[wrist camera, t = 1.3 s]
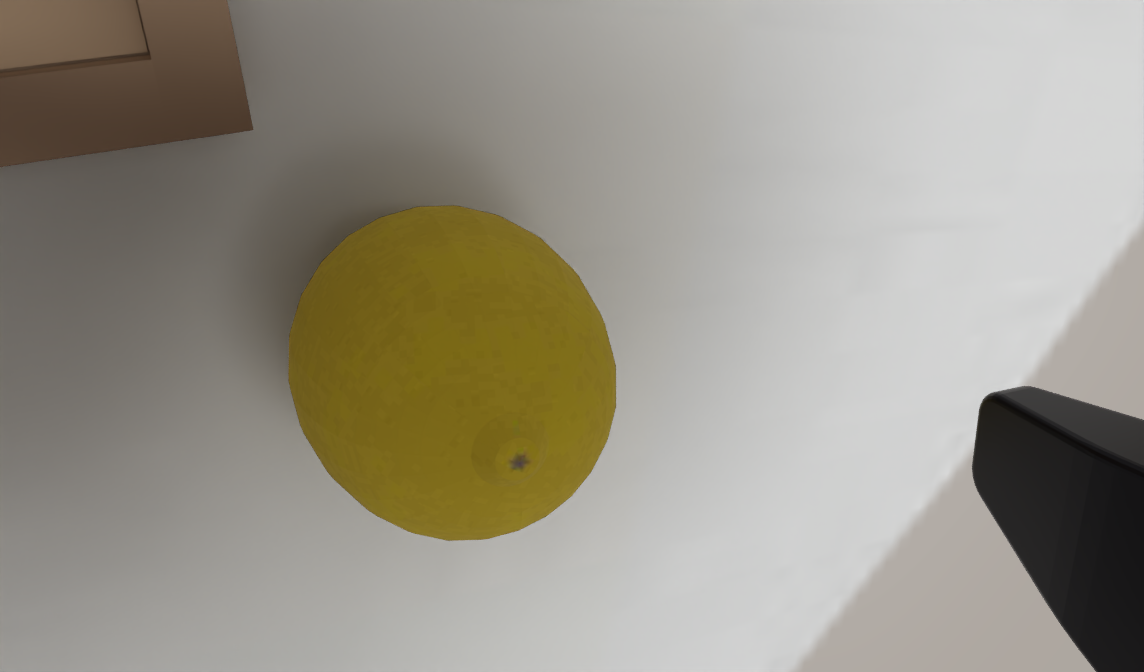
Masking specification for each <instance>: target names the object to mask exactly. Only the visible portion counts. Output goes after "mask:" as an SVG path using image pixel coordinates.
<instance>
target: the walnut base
mask: <svg viewBox="0 0 1144 672" xmlns="http://www.w3.org/2000/svg"><path fill="white" fill-rule="evenodd" d="M251 130H253V126H252V121H251V116H250V111H249V106H248V101H247V96H246V91H245V86H244V81H243V76H242V72H241V67H240V62H239V57H238V52H237V47H236V42H235V37H234V32H233V27H232V23H231V18H230V13H229V8H228V3H227V0H0V167H3V166H10V165H17V164H24V163H31V162H38V161H44V160H51V159H58V158H65V157H72V156H79V155H86V154H93V153H99V152H106V151H113V150H120V149H127V148H134V147H141V146H148V145H155V144H161V143H168V142H175V141H182V140H189V139H196V138H203V137H210V136H216V135H223V134H230V133H237V132H244V131H251Z"/></svg>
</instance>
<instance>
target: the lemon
mask: <svg viewBox="0 0 1144 672" xmlns="http://www.w3.org/2000/svg"><path fill="white" fill-rule="evenodd" d="M288 374H289V385H290V389H291V393H292V397H293V400H294V404H295V408H296V411H297V415H298V419H299V422H300V426H301V428H302V430H303V432H304V434H305V436H306V438H307V439H308V441H309V443H310V444H311V446H312V448H313V449H314V451H315V453H316V454H317V456H318V458H319V459H320V461H321V463H322V464H323V466H324V467H325V469H326V470H327V472H328V473H329V474H330V475H331V476H332V478H333V479H334V480H335V481H336V482H337V483H338V484H340V485H341V486H342V487H343V488H344V489H345V490H346V491H347V492H348V493H349V494H351V495H352V496H353V497H354V498H355V499H356V500H357V501H358V502H359V503H360V504H361V505H363V506H364V507H365V508H366V509H367V510H369V511H370V512H372V513H373V514H375V515H376V516H378V517H380V518H382V519H384V520H386V521H388V522H390V523H392V524H394V525H396V526H398V527H400V528H403V529H405V530H407V531H409V532H412V533H415V534H419V535H424V536H429V537H434V538H438V539H443V540H448V541H452V540H481V539H489V538H493V537H496V536H500V535H504V534H507V533H511V532H515V531H518V530H520V529H522V528H524V527H526V526H528V525H530V524H532V523H534V522H536V521H538V520H540V519H542V518H544V517H546V516H547V515H549V514H550V513H551V512H552V511H554V510H555V509H556V508H557V507H559V506H560V505H561V504H562V503H564V502H565V501H566V500H567V499H569V498H570V497H571V496H572V495H573V494H574V492H575V491H576V490H577V489H578V487H579V486H580V485H581V484H582V483H583V481H584V480H585V479H586V478H587V476H588V475H589V474H590V473H591V471H592V469H593V467H594V465H595V463H596V462H597V460H598V458H599V456H600V454H601V452H602V450H603V448H604V446H605V444H606V441H607V439H608V436H609V432H610V428H611V424H612V420H613V416H614V412H615V408H616V365H615V361H614V357H613V353H612V349H611V346H610V342H609V338H608V334H607V331H606V327H605V323H604V321H603V318H602V316H601V314H600V312H599V310H598V309H597V307H596V305H595V303H594V302H593V300H592V298H591V297H590V295H589V293H588V291H587V290H586V288H585V286H584V285H583V283H582V281H581V279H580V278H579V276H578V275H577V274H576V272H575V271H574V270H573V269H572V268H571V267H570V266H569V265H568V264H567V263H566V262H565V261H564V260H563V259H562V258H561V257H560V256H559V255H558V254H557V253H556V252H555V251H553V250H552V249H551V248H550V247H549V246H548V245H547V244H546V243H545V242H544V241H543V240H542V239H541V238H539V237H538V236H536V235H534V234H533V233H531V232H529V231H527V230H525V229H523V228H521V227H520V226H518V225H516V224H514V223H512V222H510V221H508V220H506V219H504V218H503V217H500V216H498V215H495V214H491V213H486V212H482V211H478V210H473V209H469V208H465V207H460V206H426V207H414V208H411V209H408V210H404V211H401V212H397V213H394V214H391V215H387V216H384V217H380V218H378V219H376V220H375V221H373V222H371V223H369V224H368V225H366V226H364V227H362V228H361V229H359V230H357V231H356V232H354V233H352V234H350V235H349V236H347V237H346V238H345V239H344V240H343V241H342V242H341V243H340V244H339V245H338V246H337V247H336V248H335V249H334V250H333V251H332V252H331V253H330V254H329V255H328V256H327V257H326V258H325V259H324V260H323V261H322V262H321V263H320V265H319V267H318V268H317V270H316V272H315V273H314V275H313V277H312V278H311V280H310V281H309V283H308V285H307V286H306V288H305V290H304V291H303V293H302V295H301V298H300V301H299V304H298V307H297V311H296V314H295V317H294V321H293V324H292V327H291V331H290V335H289V373H288Z"/></svg>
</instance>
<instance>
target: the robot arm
mask: <svg viewBox="0 0 1144 672" xmlns="http://www.w3.org/2000/svg"><path fill="white" fill-rule="evenodd" d="M972 472H973V479H974V483H975V486H976V488H977V491H978V492H979V495H980V496H981V498H982V500H983V501H984V503H985V504H986V506H987V508H988V509H989V511H990V513H991V514H992V515H993V517H994V519H995V521H996V522H997V524H998V525H999V527H1000V529H1001V530H1002V532H1003V533H1004V535H1005V537H1006V538H1007V540H1008V541H1009V543H1010V545H1011V547H1012V548H1013V550H1014V551H1015V553H1016V555H1017V556H1018V558H1019V559H1020V561H1021V563H1022V564H1023V566H1024V567H1025V569H1026V571H1027V572H1028V574H1029V575H1030V577H1031V579H1032V580H1033V582H1034V584H1035V585H1036V587H1037V589H1038V590H1039V592H1040V593H1041V595H1042V597H1043V598H1044V600H1045V601H1046V603H1047V605H1048V606H1049V608H1050V609H1051V611H1052V612H1053V614H1054V615H1055V617H1056V618H1057V620H1058V621H1059V623H1060V624H1061V626H1062V627H1063V628H1064V630H1065V631H1066V632H1067V634H1068V635H1069V637H1070V638H1071V639H1072V641H1073V642H1074V643H1075V645H1076V646H1077V648H1078V649H1079V650H1080V651H1081V653H1082V654H1083V655H1084V656H1085V658H1086V659H1087V661H1088V662H1089V663H1090V664H1091V666H1092V667H1093V668H1094V670H1095V671H1096V672H1144V420H1142V419H1139V418H1136V417H1132V416H1129V415H1125V414H1122V413H1119V412H1116V411H1112V410H1109V409H1106V408H1102V407H1099V406H1095V405H1092V404H1089V403H1085V402H1082V401H1079V400H1075V399H1072V398H1069V397H1065V396H1062V395H1059V394H1056V393H1052V392H1049V391H1045V390H1042V389H1039V388H1035V387H1031V386H1021V387H1016V388H1012V389H1007V390H1002V391H998V392H993V393H990V394H989V395H987V396H986V397H985V398H984V399H983V401H982V403H981V405H980V409H979V415H978V423H977V431H976V439H975V447H974V455H973V464H972Z"/></svg>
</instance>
